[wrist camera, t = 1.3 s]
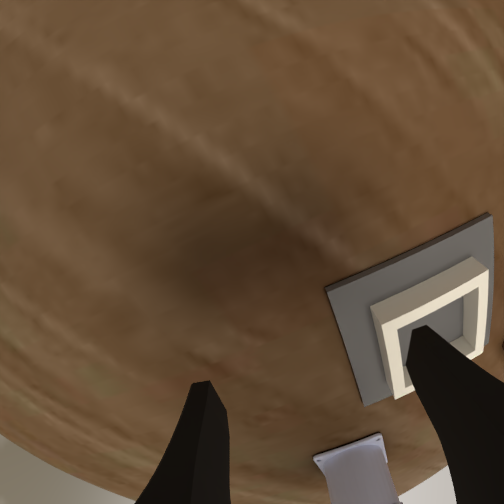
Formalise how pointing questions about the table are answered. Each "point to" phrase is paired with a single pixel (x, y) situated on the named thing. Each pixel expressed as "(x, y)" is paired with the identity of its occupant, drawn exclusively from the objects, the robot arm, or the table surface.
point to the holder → (416, 306)
